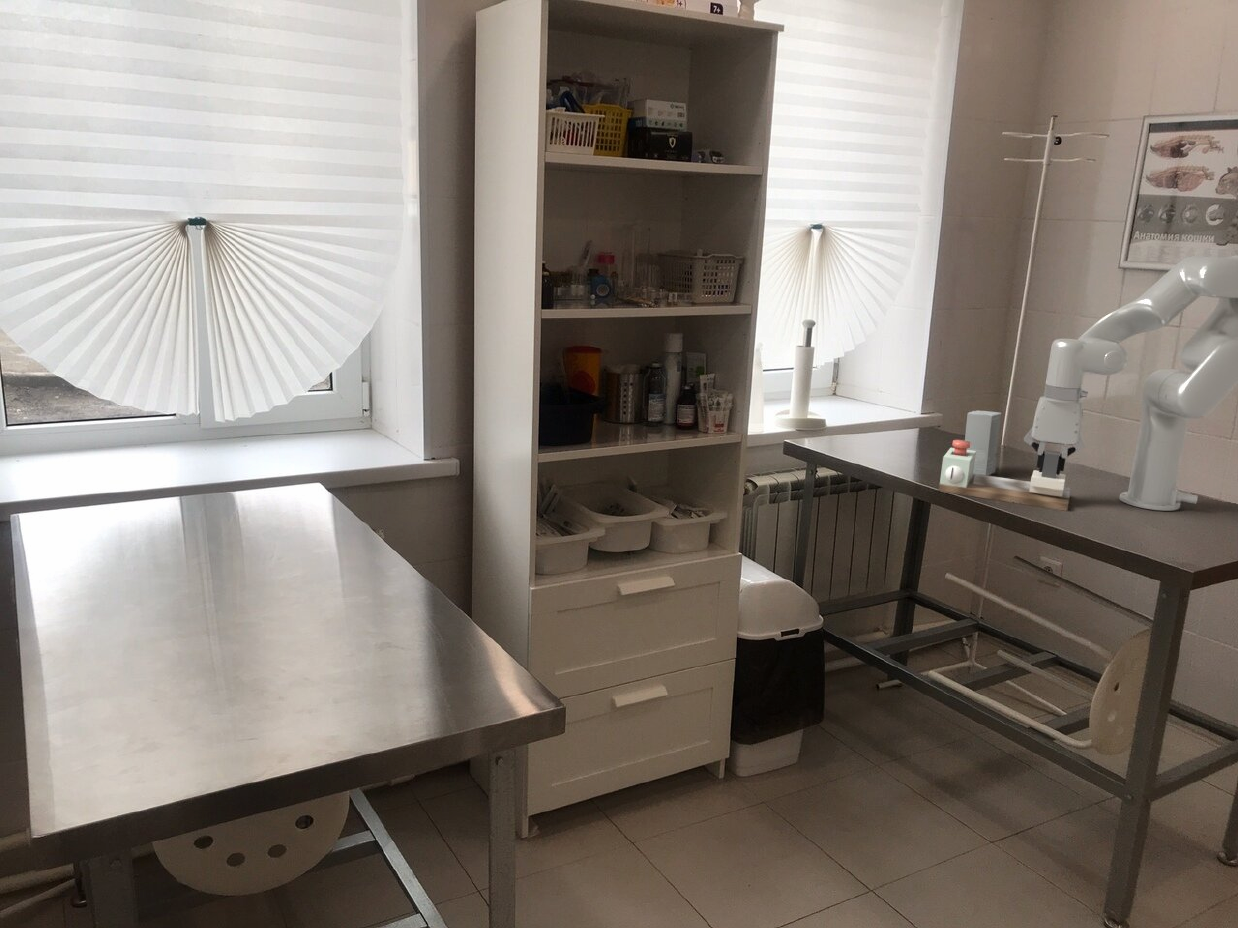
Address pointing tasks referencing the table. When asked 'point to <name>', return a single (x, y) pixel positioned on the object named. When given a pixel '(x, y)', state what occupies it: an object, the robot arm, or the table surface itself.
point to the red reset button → (960, 447)
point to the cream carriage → (1048, 476)
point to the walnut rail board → (1009, 492)
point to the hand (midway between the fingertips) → (1049, 471)
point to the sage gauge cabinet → (957, 468)
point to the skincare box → (983, 439)
